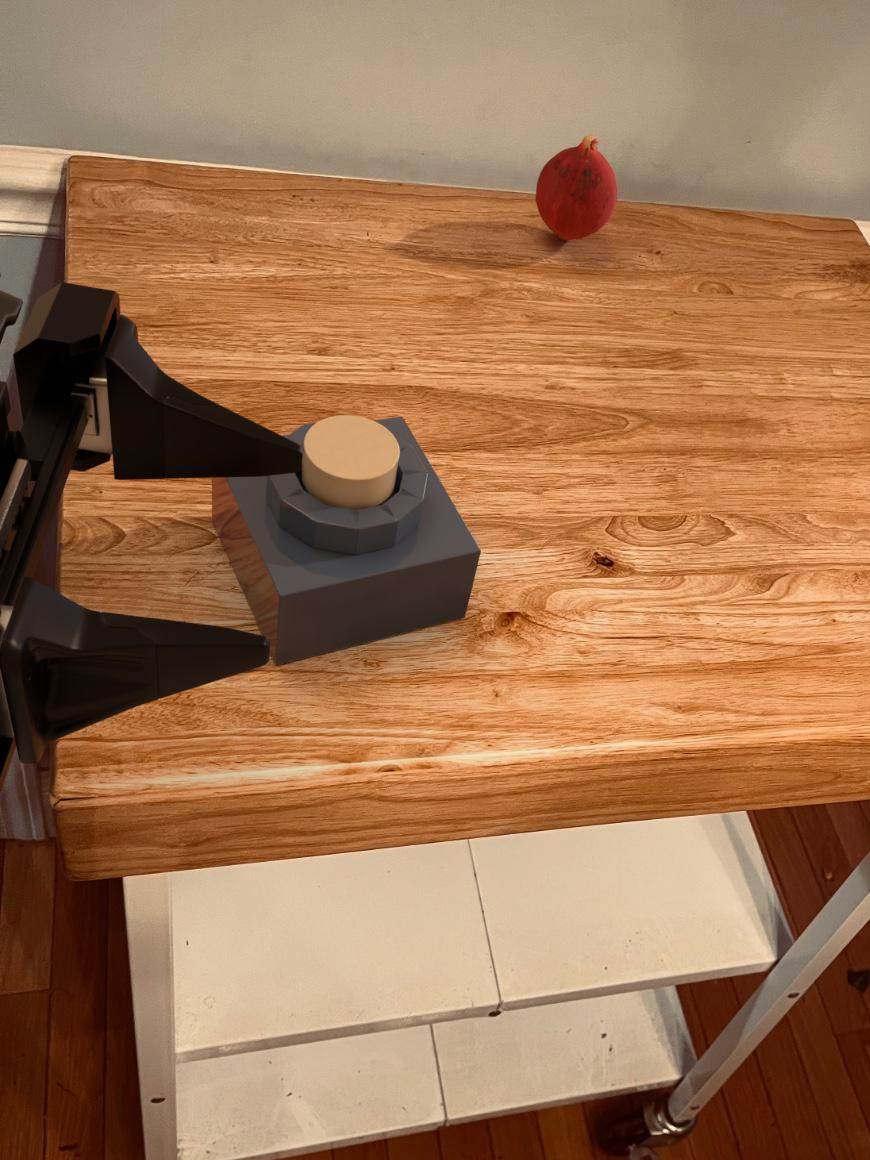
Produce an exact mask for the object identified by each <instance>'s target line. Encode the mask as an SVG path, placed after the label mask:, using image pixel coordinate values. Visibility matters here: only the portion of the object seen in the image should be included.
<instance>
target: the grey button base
mask: <svg viewBox="0 0 870 1160" xmlns="http://www.w3.org/2000/svg"><path fill="white" fill-rule="evenodd" d="M374 421H375V422H377V423H379V424H381V425H382V426H384V427H385V428H387V429H388V430H389V431H390V432H391V433H392V434H393V435H394V437H395V438H396V440H397V442H398V445H399V448H400V456H399V463H398V469H397V476H396V482H395V487H394V490H393V492H392V494H391V495H390V496H389V498H387V499H386V500H385V501H384V502H383V503H381V504H379V505H377V506H375V507H369V508H364V509H359V510H350V509H345V508H339V507H334V506H328V505H326V504H324V503H322V502H321V501H319V500H317V499H316V498H314V497H313V496H312V495H311V494H310V493H309V492H308V491H307V489H306V488H305V486H304V484H303V481H302V477H301V470H302V468H301V470H300V471H299V472H297V473H289V474H280V475H271V476H261V477H225V478H211V521H212V524H213V526H214V528H215V531H216V532H217V535H218V537H219V539H220V542H221V544H222V547H223V548H224V551H225V553H226V555H227V559H228V560H229V563H230V565H231V567H232V568H233V569H232V570H233V572H234V573H235V576H236V579H237V581H238V583H239V585H240V588H241V590H242V592H243V594H244V597H245V600H246V601H247V604H248V606H249V608H250V611H251V613H252V615H253V617H254V620H255V622H256V624H257V628H258V629H259V631H260V633H261V634H260V635H263V636H266V637H267V638H269V640H270V656H271V659H272V661H273V664H274V665H275V666H280V665H283V664H285V665H286V664H288V663H292V662H295V661H300V660H303V659H307V658H311V657H316V656H320V655H324V654H327V653H332V652H336V651H340V650H343V649H347V648H351V647H355V646H360V645H363V644H368V643H371V642H374V641H379V640H384V639H387V638H391V637H395V636H399V635H403V634H406V633H412V632H415V631H418V630H422V629H426V628H431V627H435V626H439V625H443V624H446V623H451V622H454V621H459V620H462V619H465V618H466V615H467V611H468V607H469V603H470V598H471V595H472V590H473V586H474V581H475V578H476V574H477V570H478V565H479V561H480V557H481V553H482V550H481V548H480V546H479V544H478V542H477V540H476V539H475V537H474V536H473V534H472V532H471V531H470V529H469V528H468V525H467V523H466V522H465V520H464V519H463V517H462V515H461V513H460V512H459V510H458V509H457V507H456V505H455V503H454V502H453V499H451V497H450V495H449V493H448V491H447V490H446V488H445V486H444V484H443V483H442V481H441V480H440V478H439V476H438V474H437V473H436V471H435V469H434V467H433V466H432V464H431V462H430V461H429V459H428V457H427V456H426V454H425V452H424V451H423V449H422V447H421V445H420V443H419V442H418V440H417V438H416V437H415V435H414V433H413V432H412V430H411V428H410V427H409V425H408V423H407V422H406V420H405V418H404V417H403V416H396V417H394V416H393V417H388V418H382V419H376V420H374ZM317 422H318V421H317ZM317 422H309V423H304V424H302V425H300V426H299V427H297V428H296V429H294V430H293V431H292V432H290V433H288V434H282V435H281V436H283V437H286V438H288V439H290V440H292V441H294V442H296V443H298V444H299V445H300V446H301V447H302V448H303V443H304V438H305V435H306V433H307V432H308V430H309V429H310V428H311V427H312V426H313V425H314V424H315V423H317Z"/></svg>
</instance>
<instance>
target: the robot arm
mask: <svg viewBox="0 0 870 1160" xmlns="http://www.w3.org/2000/svg"><path fill="white" fill-rule="evenodd" d="M1 277H2V274H1V273H0V278H1ZM23 304H24V300H23V299H22V298H20V297H18V296H15V295H12V294H11V293H8V292H6V291H5V290H4V291H3V290H1V289H0V345H1V344H2V341H3V338H4V336H5V333H6V330H7V328H8V327H11V326H14V325H16V323H17V321H18V319H19V316H20V313H21V311H22V307H23ZM12 358H13V365H14V371H15V377H16V384H17V390H18V397H19V404H20V411H21V418H22V426H21V429H20V430H18V429H11V428H9V422H8V421H9V420H8V416H9V414H10V412H11V409H12V407H11V401H10V395H9V388H8V383H7V381H2V380H0V794H1V793H2V791H3V787H4V785H5V782H6V779H7V776H8V772H9V769H10V766H11V763H12V760H13V757H14V755H15V752H17V757H18V761H19V763H20V764H24V765H25V764H28V765H31V764H33V765H34V764H38V763H39V762H40V761H41V760H42V758H43V756H44V752H45V749H46V747H47V746H48V745H49V744H51V743H53V742H55V741H57V740H60V739H62V738H65V737H66V736H69V735H71V734H74V733H76V732H78V731H80V730H83V729H86V728H88V727H91V726H93V725H95V724H97V723H100V722H103V721H105V720H108V719H109V718H112V717H114V716H117V715H119V714H122V713H125V712H126V711H130V710H132V709H134V708H137V707H140V706H144V705H146V704H150V703H153V702H155V701H158V700H161V699H164V698H167V697H170V696H174V695H176V694H180V693H183V692H186V691H189V690H192V689H196V688H199V687H202V686H205V685H208V684H211V683H214V682H217V681H220V680H221V681H222V680H223V679H227V678H230V677H233V676H237V675H239V674H242V673H246V672H249V671H252V670H255V669H258V668H262V667H264V666H266V665H268V663H269V661H270V656H271V654H270V640H269V638H267V637H266V636H263V635H262V634H258V633H254V632H248V631H245V630H240V629H235V628H232V627H226V626H221V625H213V624H205V623H197V622H189V621H181V620H173V619H164V618H158V617H157V618H156V617H148V616H141V615H132V614H124V613H115V612H106V611H99V610H95V609H94V610H93V609H90V608H88V607H85V606H83V605H81V604H79V603H77V602H76V601H74V600H72V599H70V598H68V597H66V596H65V595H63V594H62V593H60V592H59V591H56V590H54V589H52V588H50V586H47V585H46V584H44V583H42V582H40V581H39V580H36V579H34V578H33V577H34V574H35V571H36V568H37V565H38V562H39V559H40V556H41V554H42V552H43V548H44V545H45V543H46V540H47V537H48V534H49V532H50V529H51V526H52V523H53V520H54V518H55V516H56V515H55V514H56V512H57V509H58V506H59V503H60V501H61V498H62V495H63V492H64V489H65V486H66V484H67V482H68V478H69V475H70V473H71V471H75V472H83V473H84V472H88V471H89V470H91V469H93V468H96V467H99V466H101V465H103V464H107V463H108V462H110V461H111V458H112V466H113V479H114V480H117V481H136V480H137V481H139V480H175V479H212V478H225V477H261V476H271V475H280V474H289V473H297V472H299V471H300V470H301V468H302V462H303V448H302V447H301V446H300V445H299V444H298V443H296V442H294V441H292V440H290V439H288V438H286V437H283V436H282V435H281V434H280V433H277V432H275V431H274V430H271V429H269V428H268V427H266V426H264V425H261V424H259V423H258V422H255V421H253V420H251V419H249V418H248V417H245V416H244V415H241V414H239V413H237V412H235V411H233V410H231V409H229V408H227V407H225V406H224V405H221V404H219V403H217V402H216V401H213V400H211V399H209V398H207V397H206V396H204V395H202V394H200V393H197V392H196V391H194V390H192V389H191V388H189V387H187V386H186V385H184V384H182V383H181V382H179V381H178V380H176V379H175V378H173V377H171V376H170V375H168V374H166V372H164V370H162V368H161V367H159V366H158V364H157V363H156V362H155V361H154V359H153V358H152V357H151V356H150V355H149V353H148V351H147V350H146V349H145V348H144V347H143V346H142V345H141V343H140V342H139V332H138V325H137V324H136V323H135V322H134V321H133V320H132V319H130V318H129V317H128V316H126V315H124V314H121V301H120V294H119V293H118V292H117V291H116V290H112V289H105V288H99V287H93V286H89V285H88V286H87V285H82V284H75V283H69V282H65V281H63V282H60V283H58V284H57V285H55V286H54V287H53V288H51V289H50V290H48V291H47V292H45V293H43V294H42V295H41V296H39V297H38V298H37V300H36V302H35V304H34V306H33V309H32V310H31V313H30V314H29V318H28V319H27V322H26V323H25V326H24V329H23V331H22V333H21V336H20V338H19V340H18V342H17V344H16V347H15V348H14V352H13V354H12ZM31 482H35V483H34V485H33V488H32V491H31V492H30V495H29V490H30V489H29V486H30V485H29V484H30V483H31Z"/></svg>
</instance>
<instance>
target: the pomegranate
mask: <svg viewBox="0 0 870 1160" xmlns="http://www.w3.org/2000/svg"><path fill="white" fill-rule="evenodd" d="M599 143H600V141H599V139H597V137H596V136H594V135H593V134H589V135H585V136H583V137H582V140H581V142H580V143H579V144H578V145H576V146H572V147H568V148H567V147H566V148H564V149H563V150H560V151H559V152H558V153H556V154H555V155H554V156H552V157H551V158H550V159H549V160H548V161H547V162H546V163H545V164H544V166H543V167H542V169H541V171H540V173H539V175H538V178H537V181H536V187H535V188H536V189H535V199H534V200H535V204H536V207H537V211H538V213H539V215H540V217H541V219H542V221H543V223H544V224H545V226H546V227H547V228H549V230H551V232H552V233H553V234H555V235H556V236H557V237H559V239H561V240H563V241H567V242H568V241H573V240H580V239H584V238H587V237H589V236H591V235H593V234H596V233H598V232H599V231H600V230H601V229H602V228H603V227H605V226H606V224H607V223H608V222H609V221H610V219H611V218H612V216H613V214H614V213H615V211H616V207H617V203H618V182H617V177H616V174H615V172H614V169H613V168H612V166H611V164H610V163H609V161H608V160H607V158H606V156H604V155H603V154H602V153H601V152H600V151H598V145H599Z"/></svg>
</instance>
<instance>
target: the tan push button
mask: <svg viewBox="0 0 870 1160" xmlns="http://www.w3.org/2000/svg"><path fill="white" fill-rule="evenodd" d="M375 421H376V420H373V419H370V418H367V417H364V416H359V415H352V414H351V415H350V414H341V415H333V416H329V417H325V418H323V419H321V420H318V421H317V423H315V422H314V423H315V424H314V425H313V426H312V427H311V428H310V429H309V430H308V432H307V433H306V435H305V438H304V443H303V462H302V470H301V477H302V481H303V484H304V486H305V488H306V489H307V491H308V492H309V493H310V494H311V495H312V496H313V497H314V498H316V499H317V500H319V501H321V502H322V503H324V504H326V505H328V506H334V507H339V508H345V509H350V510H359V509H364V508H369V507H375V506H377V505H379V504H381V503H383V502H384V501H385V500H386V499H387V498H389V496H390V495H391V494H392V492H393V490H394V487H395V482H396V476H397V469H398V463H399V456H400V448H399V445H398V442H397V440H396V438H395V437H394V435H393V434H392V433H391V432H390V431H389V430H388V429H387V428H385V427H384V426H382V425H381V424H379V423H377V422H375Z"/></svg>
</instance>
